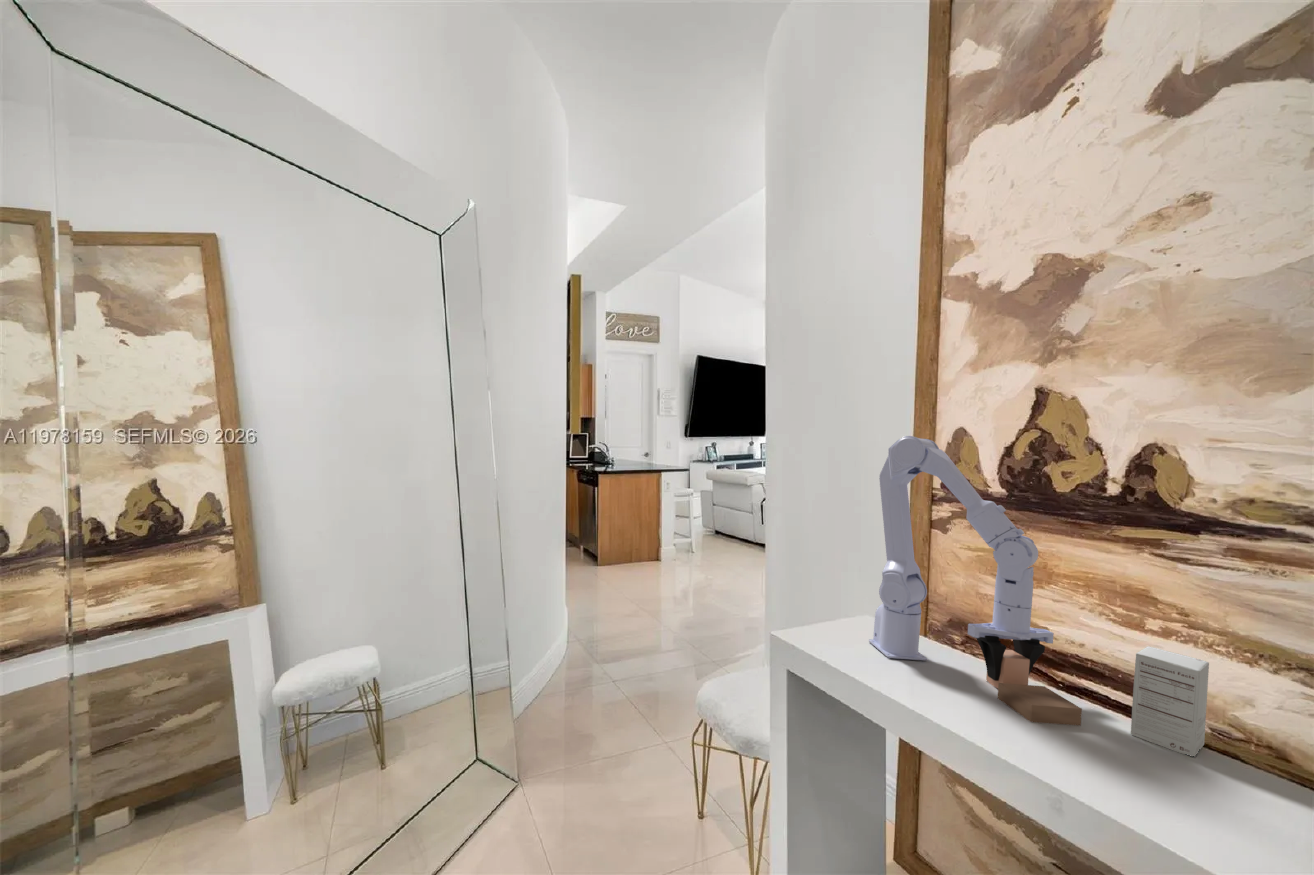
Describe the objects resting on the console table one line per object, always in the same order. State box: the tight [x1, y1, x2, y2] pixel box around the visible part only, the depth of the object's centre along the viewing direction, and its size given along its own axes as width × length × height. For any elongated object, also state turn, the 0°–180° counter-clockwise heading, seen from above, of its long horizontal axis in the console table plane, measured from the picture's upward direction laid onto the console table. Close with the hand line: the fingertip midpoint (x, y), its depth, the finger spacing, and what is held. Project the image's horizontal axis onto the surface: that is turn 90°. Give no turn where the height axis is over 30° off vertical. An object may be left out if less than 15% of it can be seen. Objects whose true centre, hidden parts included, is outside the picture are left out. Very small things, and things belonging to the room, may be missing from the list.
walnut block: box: [997, 683, 1083, 726], centre depth 90 cm, size 8×8×3 cm
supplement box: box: [1130, 646, 1210, 757], centre depth 84 cm, size 7×7×13 cm
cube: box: [985, 649, 1030, 690], centre depth 99 cm, size 4×4×6 cm
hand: (1006, 679), depth 99 cm, fingers closed on cube, 4 cm apart
